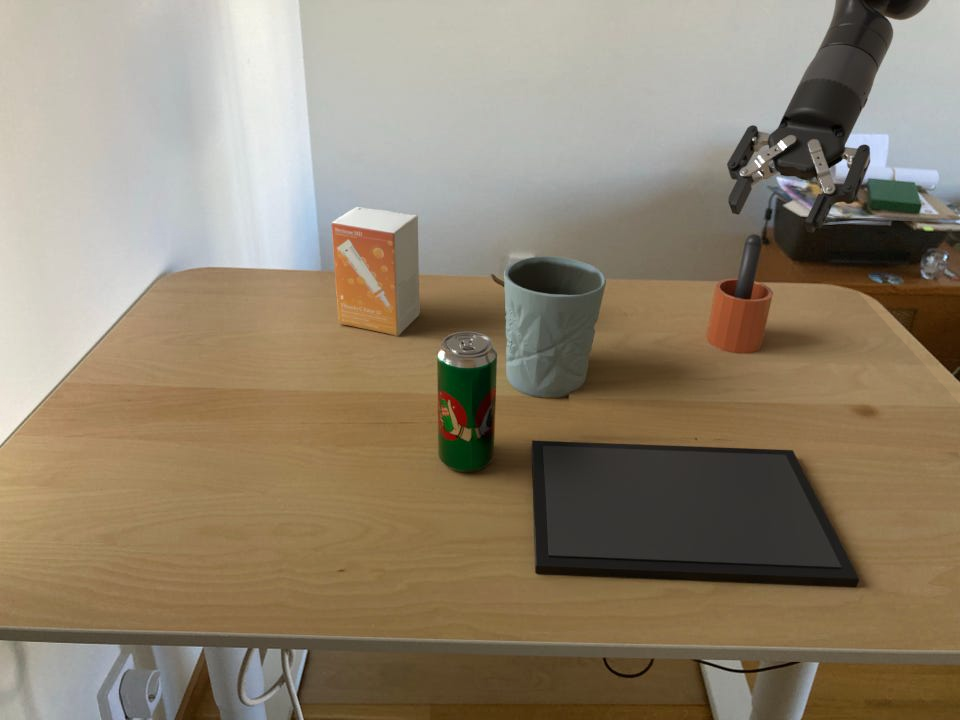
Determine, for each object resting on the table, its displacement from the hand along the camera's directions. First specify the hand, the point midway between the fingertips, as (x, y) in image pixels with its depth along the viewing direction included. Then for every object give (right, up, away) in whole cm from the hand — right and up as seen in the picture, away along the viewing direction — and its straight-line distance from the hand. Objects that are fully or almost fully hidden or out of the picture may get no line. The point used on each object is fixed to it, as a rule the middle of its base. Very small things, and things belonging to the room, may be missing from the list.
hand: (770, 219), depth 86 cm
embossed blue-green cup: (-25, -18, -3) cm, 31 cm away
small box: (-45, -11, +8) cm, 47 cm away
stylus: (-3, -13, +4) cm, 14 cm away
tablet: (-16, -28, -21) cm, 39 cm away
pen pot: (-3, -14, +4) cm, 15 cm away
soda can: (-34, -25, -16) cm, 45 cm away
